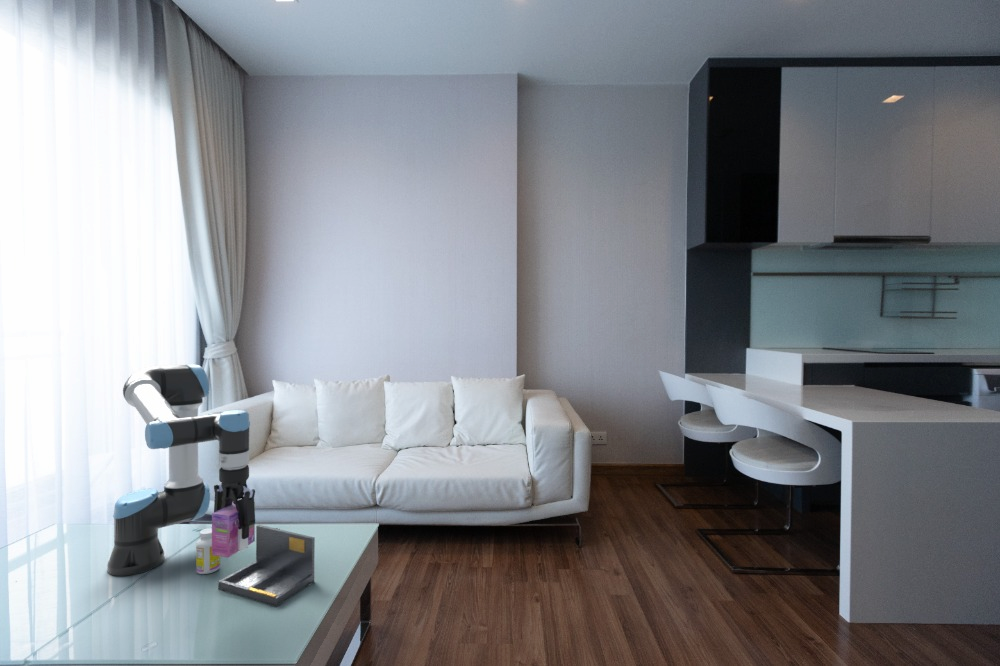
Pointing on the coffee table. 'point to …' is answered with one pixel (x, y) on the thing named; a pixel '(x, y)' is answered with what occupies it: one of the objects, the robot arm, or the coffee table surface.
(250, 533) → the box
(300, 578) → the rack
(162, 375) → the robot arm
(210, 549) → the supplement bottle
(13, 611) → the coffee table surface
